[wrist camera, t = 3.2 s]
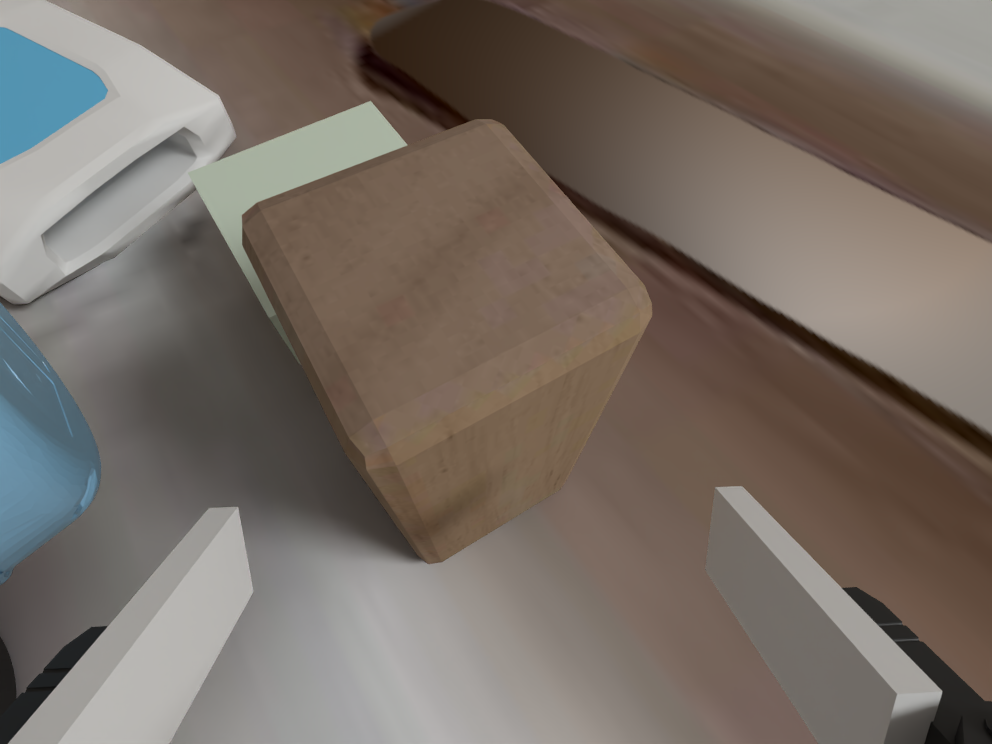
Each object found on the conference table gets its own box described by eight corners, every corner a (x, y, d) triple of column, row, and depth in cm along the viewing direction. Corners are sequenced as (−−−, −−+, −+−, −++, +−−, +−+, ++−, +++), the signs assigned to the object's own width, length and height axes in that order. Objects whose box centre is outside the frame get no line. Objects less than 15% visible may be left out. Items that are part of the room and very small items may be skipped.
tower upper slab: (299, 364, 31) (268, 318, 27) (224, 231, 36) (187, 172, 31) (471, 275, 34) (470, 220, 30) (383, 163, 39) (370, 101, 34)
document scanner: (33, 40, 52) (-21, -32, 47) (249, 148, 46) (217, 79, 41) (-190, 169, 44) (-288, 100, 38) (39, 323, 38) (-37, 267, 32)
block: (354, 431, 34) (218, 201, 16) (488, 362, 37) (495, 98, 19) (427, 573, 30) (352, 474, 13) (571, 485, 33) (676, 299, 15)
